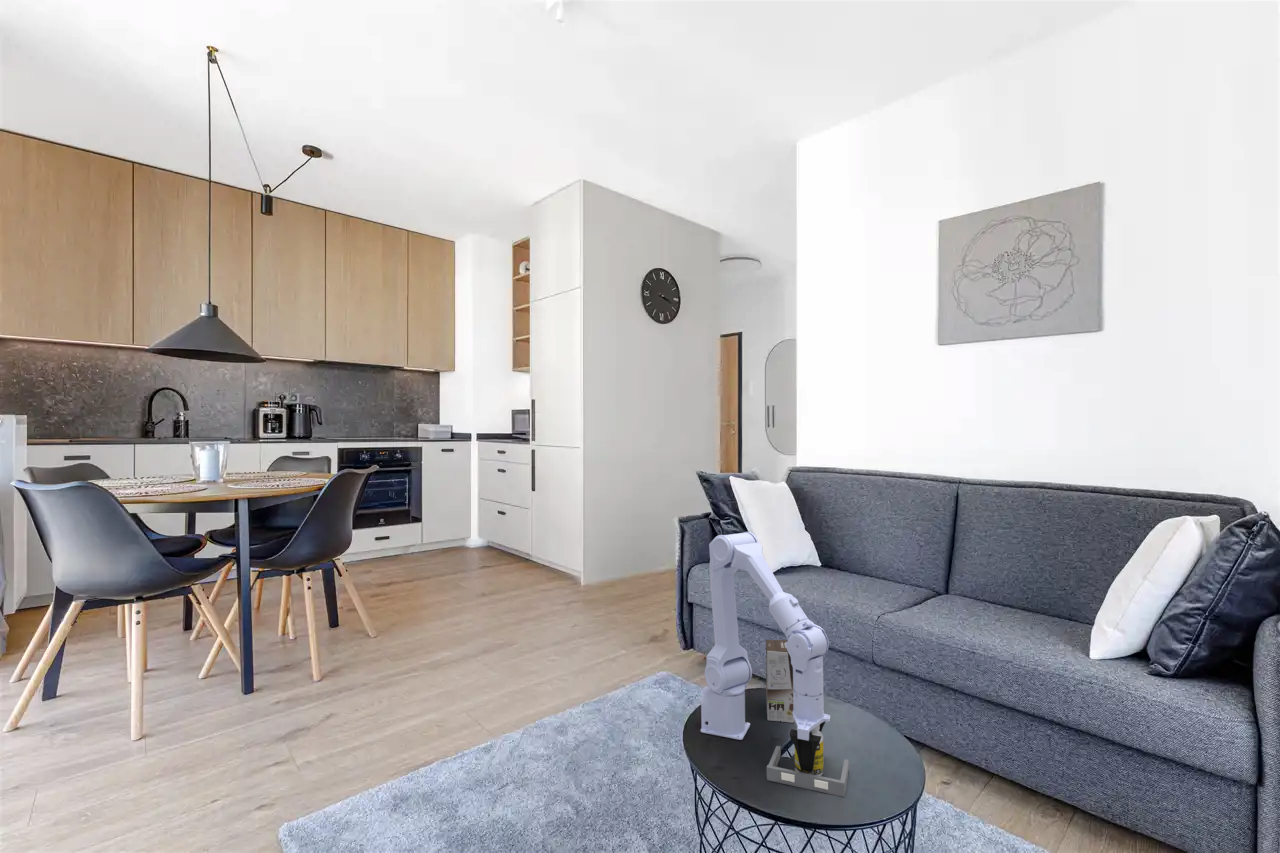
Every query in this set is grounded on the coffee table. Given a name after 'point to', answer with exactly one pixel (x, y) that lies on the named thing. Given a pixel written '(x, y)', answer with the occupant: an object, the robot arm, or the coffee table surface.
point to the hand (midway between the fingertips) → (809, 761)
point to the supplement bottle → (818, 756)
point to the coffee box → (779, 682)
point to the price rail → (807, 777)
